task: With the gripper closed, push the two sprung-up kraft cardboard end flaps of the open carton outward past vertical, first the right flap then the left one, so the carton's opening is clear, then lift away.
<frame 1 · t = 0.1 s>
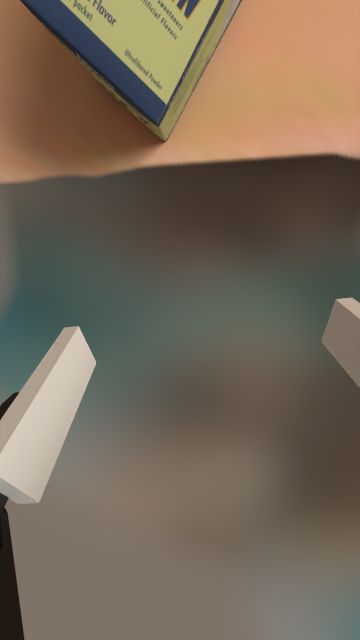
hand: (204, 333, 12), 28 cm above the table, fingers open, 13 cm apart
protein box: (165, 36, 24), on the table
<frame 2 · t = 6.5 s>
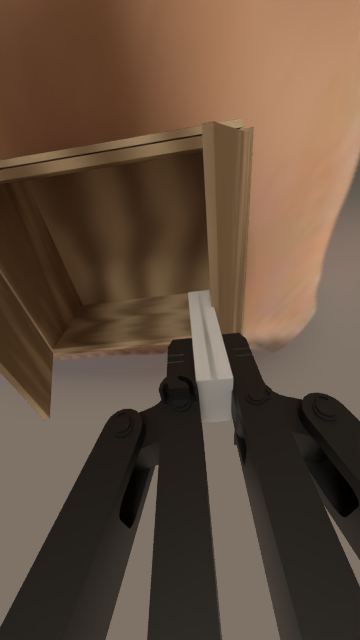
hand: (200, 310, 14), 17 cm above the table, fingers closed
carton: (138, 241, 27), on the table
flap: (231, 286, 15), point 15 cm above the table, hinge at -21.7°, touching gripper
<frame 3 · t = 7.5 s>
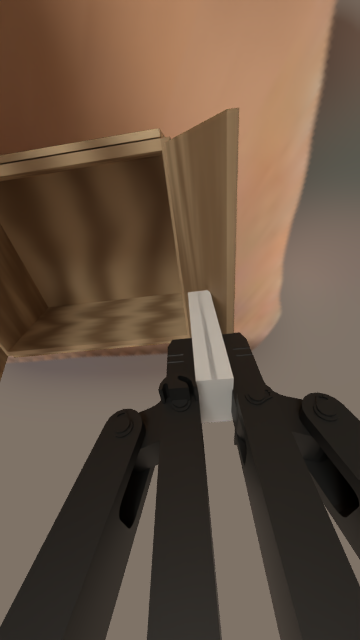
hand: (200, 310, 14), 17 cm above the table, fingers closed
carton: (97, 244, 28), on the table
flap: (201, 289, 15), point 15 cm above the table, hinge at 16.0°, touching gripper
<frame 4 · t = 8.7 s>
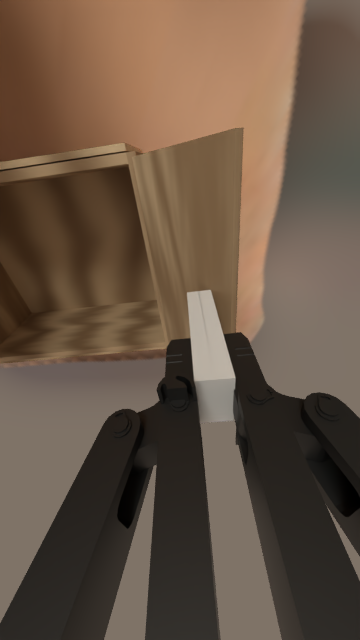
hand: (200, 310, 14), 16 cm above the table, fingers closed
carton: (79, 251, 28), on the table
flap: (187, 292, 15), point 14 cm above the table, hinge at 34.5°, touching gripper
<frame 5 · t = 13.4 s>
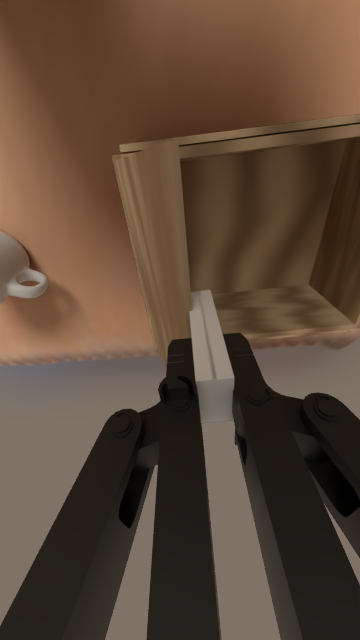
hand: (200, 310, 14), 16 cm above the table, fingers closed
carton: (236, 233, 27), on the table
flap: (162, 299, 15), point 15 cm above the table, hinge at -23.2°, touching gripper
cup: (18, 257, 28), on the table
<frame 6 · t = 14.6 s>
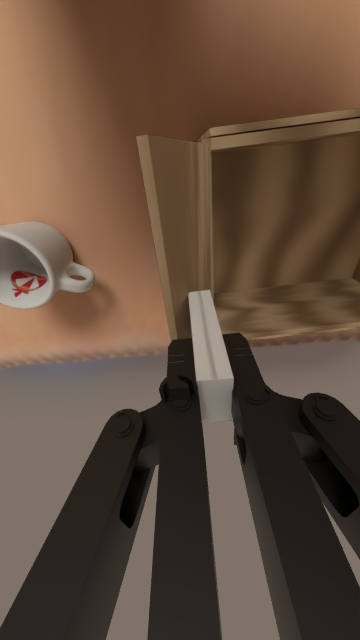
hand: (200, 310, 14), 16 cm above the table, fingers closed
carton: (284, 225, 26), on the table
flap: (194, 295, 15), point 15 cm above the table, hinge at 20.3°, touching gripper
cup: (60, 252, 27), on the table
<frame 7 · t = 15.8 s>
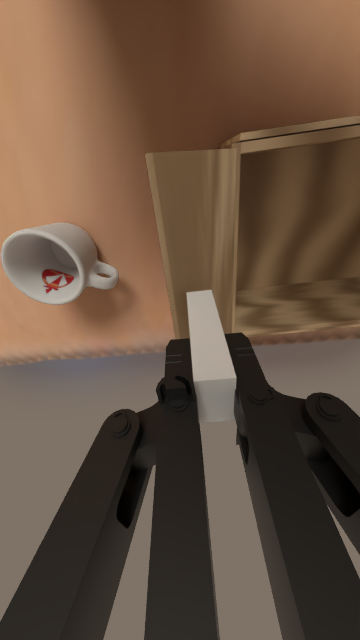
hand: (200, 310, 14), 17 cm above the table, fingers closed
carton: (302, 225, 27), on the table
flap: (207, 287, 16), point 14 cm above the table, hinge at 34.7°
cup: (85, 251, 29), on the table
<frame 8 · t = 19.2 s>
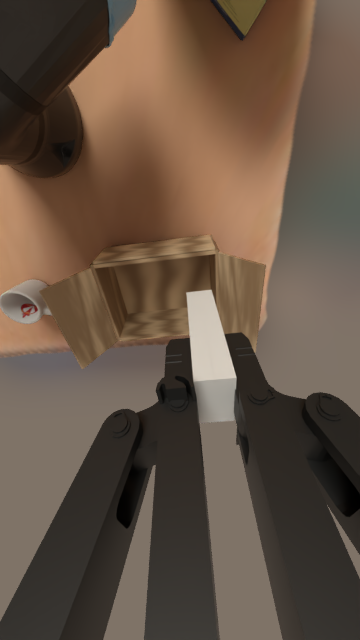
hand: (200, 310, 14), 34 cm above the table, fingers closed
carton: (164, 279, 49), on the table
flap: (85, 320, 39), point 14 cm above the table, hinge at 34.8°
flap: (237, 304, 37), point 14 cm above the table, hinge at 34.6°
cup: (47, 292, 51), on the table
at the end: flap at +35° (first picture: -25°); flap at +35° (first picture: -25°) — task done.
